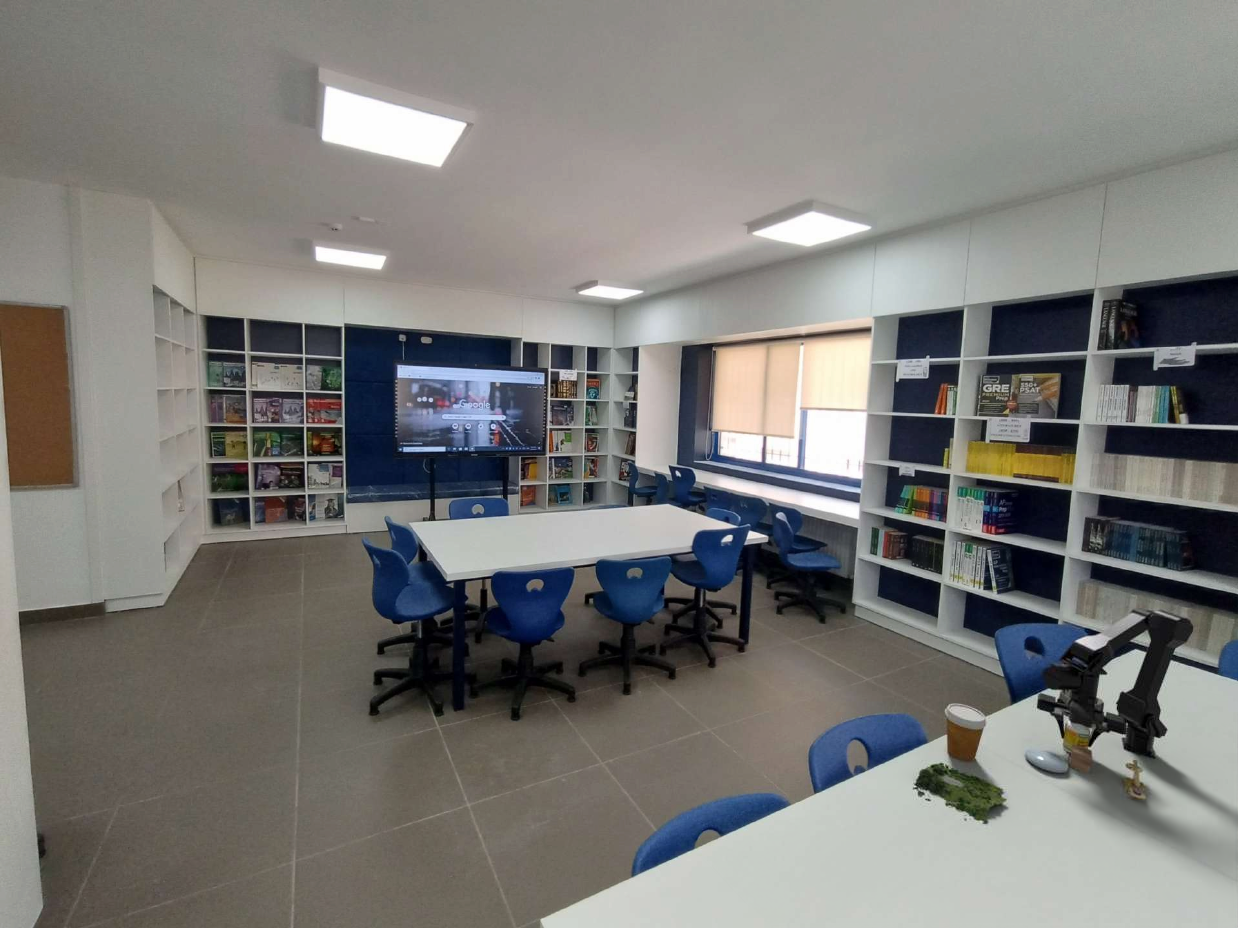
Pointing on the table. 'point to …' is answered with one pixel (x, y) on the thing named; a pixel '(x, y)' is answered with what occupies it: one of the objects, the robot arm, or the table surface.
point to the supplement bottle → (1075, 736)
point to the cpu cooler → (1064, 700)
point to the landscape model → (959, 790)
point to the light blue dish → (1046, 760)
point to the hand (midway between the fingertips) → (1075, 742)
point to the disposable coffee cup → (964, 731)
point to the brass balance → (1134, 782)
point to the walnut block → (1081, 758)
